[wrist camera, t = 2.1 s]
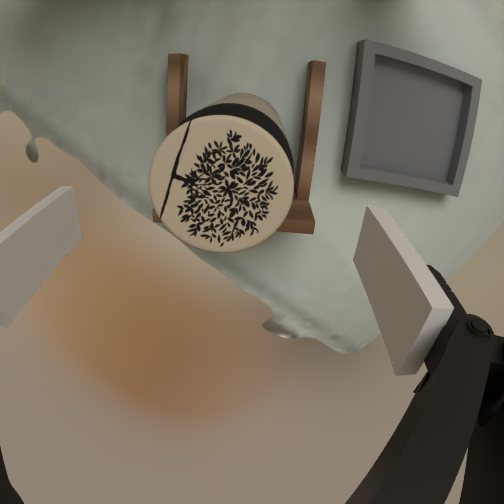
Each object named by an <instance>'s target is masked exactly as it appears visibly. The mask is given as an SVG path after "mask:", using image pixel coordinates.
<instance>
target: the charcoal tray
mask: <svg viewBox="0 0 504 504" xmlns="http://www.w3.org/2000/svg"><path fill="white" fill-rule="evenodd" d="M481 82H482V80H481V79H479V78H477V77H474V76H472V75H470V74H468V73H465V72H463V71H461V70H458V69H456V68H453V67H451V66H448V65H446V64H443V63H441V62H438V61H435V60H432V59H430V58H427V57H424V56H421V55H418V54H415V53H412V52H409V51H405V50H402V49H399V48H395V47H392V46H388V45H385V44H381V43H377V42H373V41H369V40H362V41H359V42H358V43H357V54H356V64H355V73H354V82H353V91H352V99H351V106H350V114H349V121H348V128H347V135H346V142H345V148H344V154H343V160H342V166H341V171H342V172H343V174H344V175H345V176H346V177H348V178H355V179H362V180H368V181H375V182H381V183H387V184H393V185H399V186H405V187H410V188H416V189H421V190H426V191H432V192H437V193H441V194H446V195H451V196H456V197H458V194H459V191H460V187H461V184H462V180H463V176H464V172H465V168H466V164H467V160H468V156H469V152H470V147H471V142H472V138H473V133H474V127H475V122H476V116H477V110H478V104H479V97H480V90H481Z"/></svg>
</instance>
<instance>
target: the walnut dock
mask: <svg viewBox="0 0 504 504" xmlns="http://www.w3.org/2000/svg"><path fill="white" fill-rule="evenodd" d="M325 67H326V62H320V61H310V62H309V64H308V74H307V84H306V94H305V104H304V113H303V122H302V131H301V140H300V148H299V157H298V165H297V173H296V181H295V189H294V193H293V199H292V203H291V207H290V209H289V212H288V214H287V216H286V218H285V220H284V221H283V223H282V224H281V225H280V227H279V228H278V229H277V230H276V231H281V232H292V233H304V234H313V233H314V227H315V220H314V216H313V213H312V210H311V207H310V204H309V194H310V187H311V181H312V174H313V167H314V160H315V152H316V145H317V137H318V129H319V121H320V113H321V104H322V96H323V87H324V77H325ZM187 74H188V55H185V54H181V53H180V54H169V56H168V79H167V136H168V135H169V134H170V133H171V132H172V131H174V130H175V128H176V127H177V126H178V125H179V124H180V123H181V122H182V121H183V120H184V119H186V99H187ZM153 222H160V223H163V222H162V221H161V220H160V218H159V216H158V215H157V213H156V211H155V209H153Z"/></svg>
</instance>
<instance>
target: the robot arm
mask: <svg viewBox="0 0 504 504" xmlns="http://www.w3.org/2000/svg"><path fill="white" fill-rule="evenodd" d="M81 239H82V234H81V229H80V224H79V218H78V212H77V206H76V199H75V192H74V186H61V187H59V188H58V189H56V190H55V191H54V192H52V193H51V194H49V195H48V196H47V197H45V198H44V199H42V200H41V201H40V202H38V203H37V204H35V205H34V206H33V207H32V208H30V209H29V210H27V211H26V212H25V213H24V214H22V215H21V216H20V217H18V218H17V219H16V220H15V221H13V222H12V223H11V224H10V225H8V226H7V227H6V228H5V229H4V230H2V231H1V232H0V326H2V327H6V328H8V327H9V326H10V324H11V323H12V322H13V320H14V319H15V318H16V316H17V315H18V314H19V312H20V311H21V310H22V308H23V307H24V306H25V305H26V303H27V302H28V301H29V299H30V298H31V297H32V296H33V294H34V293H35V292H36V291H37V290H38V288H39V287H40V286H41V285H42V283H43V282H44V281H45V280H46V279H47V277H48V276H49V275H50V274H51V273H52V272H53V270H54V269H55V268H56V267H57V266H58V265H59V263H60V262H61V261H62V260H63V259H64V258H65V257H66V256H67V254H68V253H69V252H70V251H71V250H72V249H73V248H74V247H75V246H76V245H77V243H78V242H79V241H80V240H81ZM353 261H354V263H355V266H356V268H357V271H358V273H359V276H360V278H361V281H362V283H363V286H364V288H365V291H366V293H367V296H368V298H369V301H370V304H371V306H372V309H373V312H374V314H375V317H376V320H377V323H378V325H379V328H380V331H381V334H382V336H383V339H384V342H385V345H386V348H387V351H388V354H389V357H390V360H391V363H392V366H393V369H394V372H395V375H411V374H416V373H417V372H418V370H419V368H420V367H421V365H422V364H423V362H425V365H426V367H427V370H428V371H427V373H426V374H425V376H424V377H423V379H422V380H421V382H420V383H419V384H418V386H417V387H416V389H415V390H414V391H413V392H414V393H415V395H414V397H413V399H412V401H411V403H410V405H409V407H408V409H407V411H406V412H405V414H404V416H403V418H402V419H401V421H400V423H399V425H398V426H397V428H396V430H395V432H394V433H393V435H392V437H391V438H390V440H389V441H388V443H387V445H386V446H385V448H384V449H383V451H382V453H381V454H380V456H379V457H378V459H377V460H376V462H375V463H374V465H373V466H372V468H371V469H370V471H369V472H368V474H367V475H366V477H365V478H364V479H363V481H362V482H361V483H360V485H359V486H358V488H357V489H356V490H355V491H354V493H353V494H352V495H351V497H350V498H349V499H348V501H347V502H346V503H345V504H444V503H445V501H446V499H447V497H448V494H449V492H450V490H451V488H452V486H453V483H454V481H455V479H456V476H457V474H458V471H459V469H460V466H461V464H462V461H463V459H464V456H465V453H466V451H467V448H468V453H467V462H466V468H465V475H464V482H463V487H462V492H461V497H460V502H459V504H504V337H500V336H496V335H494V332H493V330H492V328H491V327H490V325H489V324H488V323H487V322H486V321H485V320H483V319H482V318H480V317H478V316H475V315H472V314H467V313H466V312H465V310H464V308H463V307H462V305H461V304H460V302H459V301H458V299H457V297H456V296H455V294H454V293H453V292H451V288H450V287H449V286H448V284H446V281H445V280H444V278H443V277H442V275H441V274H440V273H439V272H438V271H437V270H435V269H434V268H433V267H432V266H431V265H426V264H425V263H424V261H423V260H422V259H421V257H420V256H419V254H418V253H417V251H416V250H415V249H414V247H413V246H412V245H411V243H410V242H409V241H408V239H407V238H406V236H405V235H404V234H403V232H402V231H401V230H400V229H399V227H398V226H397V225H396V223H395V222H394V221H393V219H392V218H391V217H390V216H389V214H388V213H387V212H386V211H385V209H384V208H383V207H377V206H370V205H367V206H366V211H365V215H364V219H363V224H362V228H361V232H360V236H359V240H358V244H357V248H356V252H355V255H354V259H353ZM0 504H24V502H23V501H22V499H21V498H20V496H19V495H18V494H17V492H16V491H15V489H14V488H13V487H12V485H11V483H10V482H9V479H8V476H7V472H6V469H5V465H4V461H3V457H2V452H1V448H0Z"/></svg>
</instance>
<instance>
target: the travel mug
mask: <svg viewBox="0 0 504 504" xmlns="http://www.w3.org/2000/svg"><path fill="white" fill-rule="evenodd" d="M293 174H294V165H293V157H292V153H291V150H290V147H289V144H288V141H287V138H286V135H285V132H284V130H283V127H282V124H281V121H280V118H279V116H278V114H277V112H276V111H275V109H274V108H273V107H272V106H271V105H270V104H269V103H268V102H267V101H265V100H264V99H262V98H260V97H257V96H255V95H250V94H235V95H231V96H228V97H226V98H223V99H221V100H219V101H217V102H215V103H213V104H211V105H209V106H207V107H205V108H203V109H201V110H199V111H197V112H195V113H193V114H192V115H190V116H188V117H187V118H186V119H184V120H183V121H182V122H181V123H180V124H179V125H178V126H177V127H176V128H175V130H174V131H172V132H171V133H170V134H169V135H168V136H167V137H166V138H165V139H164V140H163V142H162V143H161V145H160V146H159V148H158V149H157V151H156V153H155V155H154V157H153V160H152V163H151V167H150V171H149V192H150V197H151V201H152V204H153V206H154V209H155V211H156V213H157V215H158V216H159V218H160V220H161V221H162V222H163V224H164V225H165V226H166V227H167V228H168V229H169V230H170V231H171V232H172V233H173V234H174V235H175V236H177V237H178V238H179V239H181V240H182V241H184V242H186V243H188V244H189V245H191V246H194V247H196V248H199V249H202V250H207V251H212V252H236V251H241V250H244V249H248V248H250V247H253V246H255V245H257V244H259V243H261V242H263V241H264V240H266V239H267V238H268V237H270V236H271V235H272V234H273V233H274V232H275V231H276V230H277V229H278V228H279V227H280V225H281V224H282V223H283V221H284V220H285V218H286V216H287V214H288V212H289V209H290V207H291V203H292V199H293V193H294V179H293Z"/></svg>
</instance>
